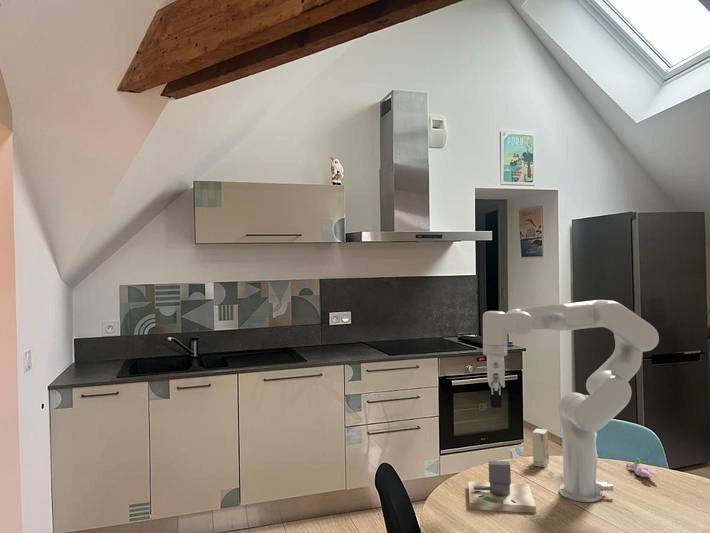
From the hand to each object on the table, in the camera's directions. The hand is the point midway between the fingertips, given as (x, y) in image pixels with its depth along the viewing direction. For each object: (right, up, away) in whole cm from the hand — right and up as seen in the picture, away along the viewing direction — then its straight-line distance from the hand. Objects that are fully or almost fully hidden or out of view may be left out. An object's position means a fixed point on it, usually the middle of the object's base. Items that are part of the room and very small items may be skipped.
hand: (495, 403), depth 165 cm
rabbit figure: (+53, -28, +11) cm, 61 cm away
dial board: (+1, -29, -4) cm, 29 cm away
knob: (-2, -27, -3) cm, 27 cm away
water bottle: (+39, -28, +22) cm, 53 cm away
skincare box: (+23, -29, +24) cm, 45 cm away
